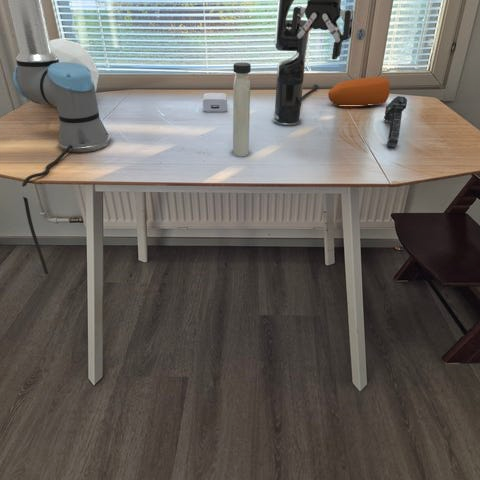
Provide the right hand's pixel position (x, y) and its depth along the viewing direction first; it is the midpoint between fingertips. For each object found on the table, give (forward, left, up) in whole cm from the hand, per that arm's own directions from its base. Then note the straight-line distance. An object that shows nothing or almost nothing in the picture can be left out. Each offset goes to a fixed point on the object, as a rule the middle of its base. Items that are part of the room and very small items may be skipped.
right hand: (317, 57), depth 99 cm
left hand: (-31, -80, +10) cm, 86 cm away
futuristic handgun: (-42, +14, -30) cm, 53 cm away
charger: (-37, -54, -30) cm, 72 cm away
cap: (-1, -21, -4) cm, 22 cm away
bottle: (-1, -21, -30) cm, 37 cm away
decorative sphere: (-9, -104, -30) cm, 109 cm away
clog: (-70, -5, -30) cm, 76 cm away
